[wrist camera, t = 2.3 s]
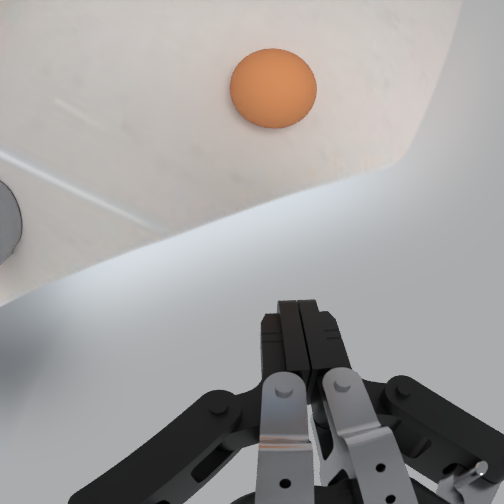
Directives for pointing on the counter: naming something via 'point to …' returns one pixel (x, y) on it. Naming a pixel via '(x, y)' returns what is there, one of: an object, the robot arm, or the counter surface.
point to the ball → (273, 88)
